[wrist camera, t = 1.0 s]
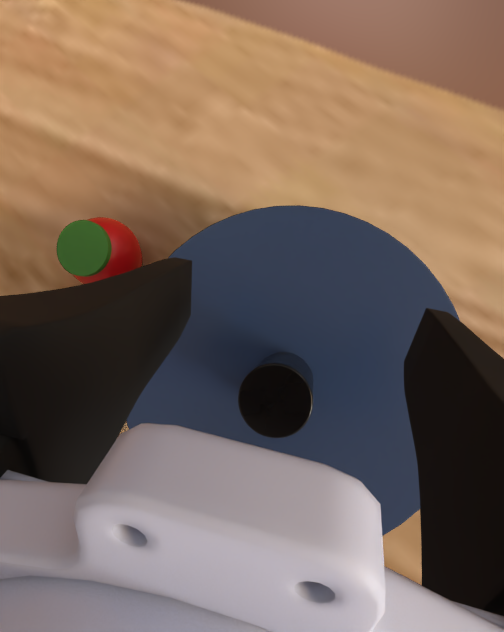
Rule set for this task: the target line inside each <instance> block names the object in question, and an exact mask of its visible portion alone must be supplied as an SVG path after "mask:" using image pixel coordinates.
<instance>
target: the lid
mask: <svg viewBox="0 0 504 632" xmlns="http://www.w3.org/2000/svg"><path fill="white" fill-rule="evenodd" d="M172 257H176V258H181V259H186V260H191V261H192V291H191V316H190V318H189V320H188V322H187V324H186V326H185V328H184V330H183V332H182V334H181V336H180V338H179V340H178V341H177V343H176V344H175V346H174V347H173V348H172V350H171V351H170V353H169V354H168V356H167V357H166V358H165V360H164V361H163V363H162V364H161V366H160V367H159V368H158V370H157V371H156V373H155V374H154V375H153V377H152V378H151V380H150V381H149V382H148V384H147V385H146V387H145V388H144V390H143V391H142V393H141V395H140V396H139V398H138V400H137V401H136V403H135V405H134V407H133V409H132V411H131V412H130V414H129V416H128V418H127V425H128V428H129V429H131V428H133V427H135V426H137V425H139V424H141V423H152V424H167V425H178V426H182V427H185V428H189V429H193V430H197V431H201V432H204V433H208V434H212V435H216V436H220V437H224V438H227V439H231V440H235V441H239V442H243V443H247V444H250V445H254V446H258V447H262V448H266V449H270V450H273V451H277V452H281V453H285V454H289V455H292V456H296V457H300V458H304V459H308V460H312V461H315V462H319V463H323V464H326V465H328V466H331V467H333V468H335V469H337V470H339V471H341V472H344V473H346V474H348V475H350V476H352V477H355V478H356V479H358V480H360V481H361V482H362V483H363V484H364V486H365V487H366V488H367V489H368V490H369V491H370V493H371V494H372V495H373V496H374V497H375V498H376V500H377V501H378V502H379V503H380V505H381V522H382V536H383V535H384V534H386V533H388V532H389V531H391V530H393V529H394V528H396V527H397V526H399V525H401V524H402V523H403V522H405V521H406V520H407V519H408V518H409V517H411V516H412V515H413V514H414V513H415V512H417V511H418V510H419V509H420V492H419V477H418V465H417V458H416V451H415V446H414V441H413V436H412V430H411V425H410V420H409V414H408V409H407V403H406V398H405V392H404V360H405V358H406V355H407V353H408V350H409V348H410V346H411V343H412V341H413V338H414V336H415V333H416V331H417V329H418V326H419V324H420V321H421V319H422V317H423V314H424V312H425V309H426V308H430V309H435V310H440V311H445V312H448V313H450V314H451V315H453V316H454V317H455V318H457V319H458V320H459V318H458V315H457V313H456V311H455V308H454V306H453V304H452V302H451V301H450V299H449V297H448V296H447V294H446V292H445V291H444V289H443V287H442V285H441V284H440V283H439V281H438V280H437V279H436V278H435V276H434V275H433V274H432V273H431V271H430V270H429V269H428V267H427V266H426V265H425V264H424V263H423V262H422V261H421V260H420V259H419V258H418V257H417V256H416V255H415V254H414V253H413V252H412V251H411V250H409V249H408V248H407V247H406V246H404V245H403V244H402V243H400V242H399V241H398V240H396V239H395V238H394V237H392V236H391V235H390V234H388V233H386V232H384V231H383V230H381V229H379V228H377V227H375V226H373V225H372V224H370V223H368V222H366V221H363V220H361V219H358V218H355V217H353V216H350V215H348V214H345V213H341V212H337V211H333V210H328V209H324V208H318V207H308V206H273V207H267V208H260V209H254V210H250V211H247V212H244V213H240V214H237V215H233V216H231V217H228V218H226V219H224V220H222V221H219V222H217V223H215V224H212V225H211V226H209V227H207V228H206V229H204V230H202V231H201V232H199V233H197V234H196V235H194V236H193V237H191V238H190V239H189V240H188V241H186V242H185V243H184V244H183V245H181V246H180V247H179V248H178V249H176V250H175V251H174V252H173V253H172V254H171V255H170V256H169V257H168V258H172ZM459 321H460V320H459Z"/></svg>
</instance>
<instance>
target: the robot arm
mask: <svg viewBox="0 0 504 632" xmlns="http://www.w3.org/2000/svg"><path fill="white" fill-rule="evenodd" d="M191 291H192V261H191V260H186V259H181V258H176V257H172V258H167V259H164V260H161V261H157V262H154V263H151V264H149V265H146V266H143V267H140V268H137V269H134V270H131V271H128V272H125V273H122V274H119V275H115V276H112V277H109V278H105V279H102V280H99V281H95V282H91V283H87V284H83V285H78V286H73V287H69V288H64V289H58V290H51V291H43V292H36V293H28V294H19V295H7V296H0V632H504V359H503V358H502V357H501V356H500V355H498V354H497V353H496V352H495V351H494V350H492V349H491V348H490V347H489V346H488V345H487V344H485V343H484V342H483V341H482V340H481V339H480V338H479V337H478V336H476V335H475V334H474V333H473V332H472V331H471V330H470V329H468V328H467V327H466V326H465V325H464V324H463V323H462V322H460V321H459V320H458V319H457V318H455V317H454V316H453V315H451V314H450V313H448V312H445V311H440V310H435V309H430V308H426V309H425V312H424V314H423V317H422V319H421V321H420V324H419V326H418V329H417V331H416V333H415V336H414V338H413V341H412V343H411V346H410V348H409V350H408V353H407V355H406V358H405V360H404V392H405V398H406V403H407V409H408V414H409V420H410V425H411V430H412V436H413V441H414V446H415V451H416V458H417V465H418V477H419V492H420V512H421V540H422V586H421V585H420V584H418V583H416V582H414V581H412V580H410V579H408V578H406V577H404V576H402V575H400V574H398V573H396V572H395V571H393V570H391V569H389V568H387V567H385V566H384V556H383V539H382V522H381V505H380V503H379V502H378V501H377V500H376V498H375V497H374V496H373V495H372V494H371V493H370V491H369V490H368V489H367V488H366V487H365V486H364V484H363V483H362V482H361V481H360V480H358V479H356V478H355V477H352V476H350V475H348V474H346V473H344V472H341V471H339V470H337V469H335V468H333V467H331V466H328V465H326V464H323V463H319V462H315V461H312V460H308V459H304V458H300V457H296V456H292V455H289V454H285V453H281V452H277V451H273V450H270V449H266V448H262V447H258V446H254V445H250V444H247V443H243V442H239V441H235V440H231V439H227V438H224V437H220V436H216V435H212V434H208V433H204V432H201V431H197V430H193V429H189V428H185V427H182V426H178V425H167V424H152V423H141V424H139V425H137V426H135V427H133V428H131V429H129V430H127V431H125V432H123V433H121V434H120V435H119V433H120V431H121V429H122V427H123V425H124V424H125V422H126V420H127V418H128V416H129V414H130V412H131V411H132V409H133V407H134V405H135V403H136V401H137V400H138V398H139V396H140V395H141V393H142V391H143V390H144V388H145V387H146V385H147V384H148V382H149V381H150V380H151V378H152V377H153V375H154V374H155V373H156V371H157V370H158V368H159V367H160V366H161V364H162V363H163V361H164V360H165V358H166V357H167V356H168V354H169V353H170V351H171V350H172V348H173V347H174V346H175V344H176V343H177V341H178V340H179V338H180V336H181V334H182V332H183V330H184V328H185V326H186V324H187V322H188V320H189V318H190V316H191ZM118 435H119V437H118ZM117 437H118V438H117ZM116 439H117V440H116Z"/></svg>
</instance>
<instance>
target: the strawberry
mask: <svg viewBox="0 0 504 632" xmlns="http://www.w3.org/2000/svg"><path fill="white" fill-rule="evenodd" d="M57 255H58V259H59V261H60V263H61V265H62V266H63V267H64V269H65V270H67V271H68V272H69V273H71V274H73V276H74V277H75V278H76V279H78V280H79V281H80V282H81V283H83V284H87V283H91V282H95V281H99V280H102V279H105V278H109V277H112V276H115V275H119V274H122V273H125V272H128V271H131V270H134V269H137V268H140V267H141V265H142V253H141V249H140V245H139V242H138V240H137V238H136V236H135V235H134V234H133V232H132V231H131V230H130V229H129V228H128V227H127V226H125V225H124V224H122V223H120V222H119V221H116V220H114V219H110V218H103V217H97V218H91V219H88V220H78V221H75V222H72V223H70V224H69V225H68V226H66V227H65V228H64V229H63V231H62V232H61V234H60V236H59V238H58V242H57Z"/></svg>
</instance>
